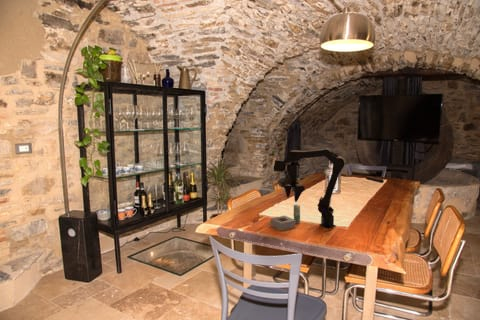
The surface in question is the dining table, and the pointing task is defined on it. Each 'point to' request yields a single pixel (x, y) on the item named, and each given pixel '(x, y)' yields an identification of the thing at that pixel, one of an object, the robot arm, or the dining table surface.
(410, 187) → the dining table surface
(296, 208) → the peg
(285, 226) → the socket block
